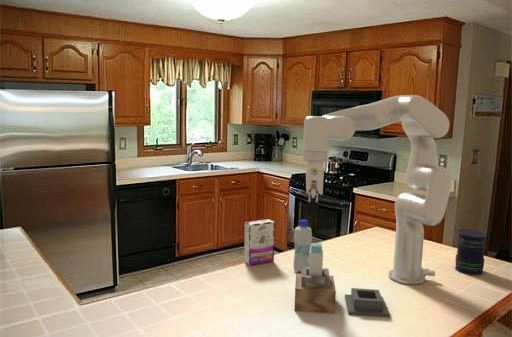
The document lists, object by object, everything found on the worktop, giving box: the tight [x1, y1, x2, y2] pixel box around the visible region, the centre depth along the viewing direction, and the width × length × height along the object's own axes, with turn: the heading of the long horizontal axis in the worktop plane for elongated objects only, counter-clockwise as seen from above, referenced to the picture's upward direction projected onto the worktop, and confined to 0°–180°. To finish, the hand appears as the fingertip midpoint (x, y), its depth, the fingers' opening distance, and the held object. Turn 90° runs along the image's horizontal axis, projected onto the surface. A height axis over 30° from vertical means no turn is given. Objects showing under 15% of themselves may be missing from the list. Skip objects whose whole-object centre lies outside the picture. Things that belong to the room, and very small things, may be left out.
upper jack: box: [293, 267, 337, 314], centre depth 135 cm, size 12×12×10 cm
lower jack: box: [344, 287, 391, 318], centre depth 134 cm, size 12×12×4 cm
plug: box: [309, 242, 324, 276], centre depth 134 cm, size 4×4×12 cm
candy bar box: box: [243, 218, 275, 266], centre depth 170 cm, size 11×5×16 cm, turn 117°
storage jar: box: [454, 229, 487, 276], centre depth 166 cm, size 10×10×15 cm
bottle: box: [293, 219, 313, 274], centre depth 161 cm, size 7×7×20 cm
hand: (312, 211), depth 135 cm, fingers open, 9 cm apart
